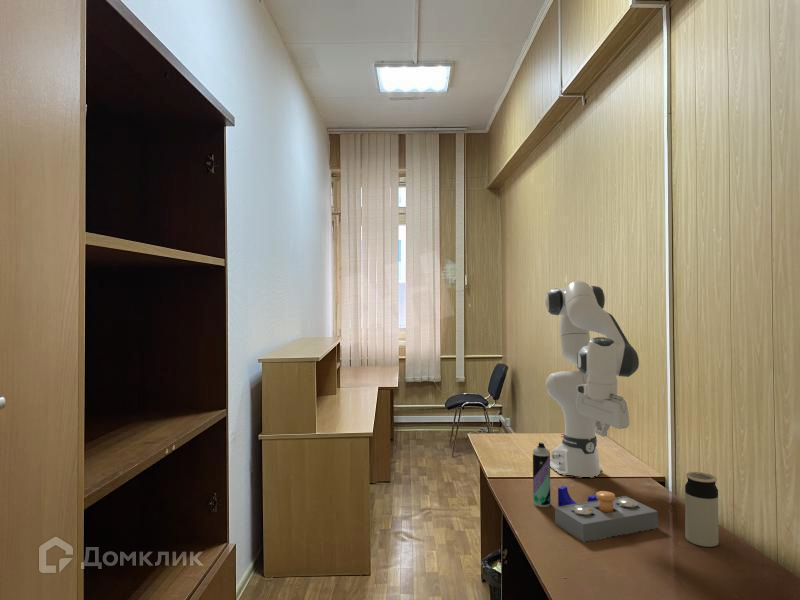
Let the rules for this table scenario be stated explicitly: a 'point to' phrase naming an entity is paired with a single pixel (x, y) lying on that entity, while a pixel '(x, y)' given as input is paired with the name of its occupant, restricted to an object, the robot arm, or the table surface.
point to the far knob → (627, 503)
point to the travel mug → (701, 509)
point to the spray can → (541, 476)
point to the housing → (605, 520)
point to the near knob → (583, 510)
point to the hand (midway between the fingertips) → (601, 435)
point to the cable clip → (566, 499)
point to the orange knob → (605, 501)
